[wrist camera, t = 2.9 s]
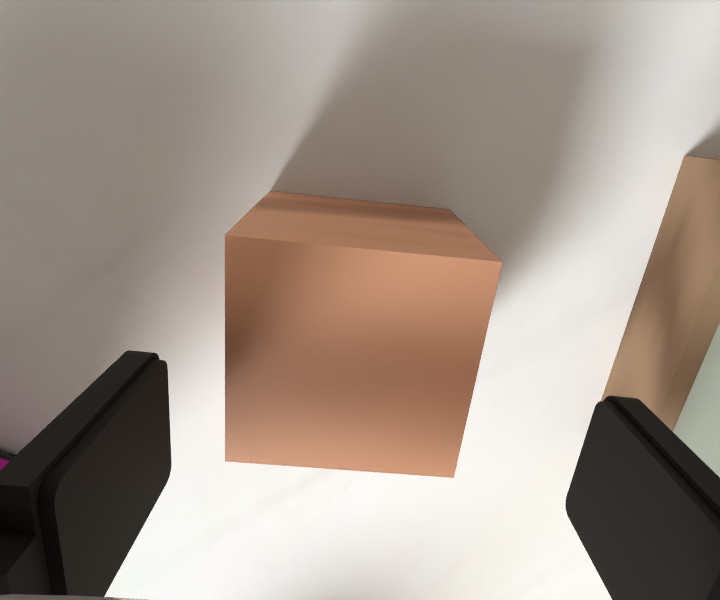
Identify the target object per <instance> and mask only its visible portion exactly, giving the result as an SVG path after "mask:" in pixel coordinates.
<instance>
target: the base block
mask: <svg viewBox="0 0 720 600" xmlns="http://www.w3.org/2000/svg"><path fill="white" fill-rule="evenodd" d="M719 323H720V159H711V158H701V157H692V156H684V158H683V161H682V164H681V167H680V170H679V173H678V176H677V179H676V182H675V185H674V187H673V190H672V193H671V196H670V199H669V202H668V205H667V208H666V211H665V214H664V217H663V220H662V223H661V226H660V229H659V232H658V235H657V237H656V240H655V243H654V246H653V249H652V252H651V255H650V258H649V261H648V264H647V267H646V270H645V273H644V276H643V279H642V282H641V285H640V288H639V290H638V293H637V296H636V299H635V302H634V305H633V308H632V311H631V314H630V317H629V320H628V323H627V326H626V329H625V332H624V335H623V338H622V341H621V343H620V346H619V349H618V352H617V355H616V358H615V361H614V364H613V367H612V370H611V373H610V376H609V379H608V382H607V385H606V388H605V391H604V394H603V396H602V399H601V401H603V400H604V399H605V398H606V397H608V396H620V397H631V398H638V399H639V400H640V401H642V402H643V403H644V404H645V405H646V406H647V407H648V408H649V409H650V410H651V411H652V412H653V413H654V414H655V415H656V416H657V417H658V418H659V419H660V420H661V421H662V422H663V423H664V424H665V425H666V426H667V427H668V428H669V429H670V430H671V431H672V432H673V430H674V428H675V425H676V423H677V421H678V418H679V416H680V414H681V411H682V409H683V407H684V404H685V402H686V400H687V397H688V395H689V393H690V390H691V388H692V386H693V383H694V381H695V379H696V376H697V374H698V372H699V369H700V367H701V365H702V362H703V360H704V358H705V355H706V353H707V351H708V348H709V346H710V344H711V341H712V339H713V337H714V334H715V332H716V330H717V327H718V325H719Z"/></svg>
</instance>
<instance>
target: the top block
mask: <svg viewBox="0 0 720 600" xmlns="http://www.w3.org/2000/svg"><path fill="white" fill-rule="evenodd" d="M673 433H675V434H676V435H677V436H678V437H679V438H680V439H681V440H682V441H683V442H684V443H685V444H686V445H687V446H688V447H689V448H690V449H691V450H692V451H693V452H694V453H695V454H696V455H697V456H698V457H699V458H700V459H701V460H702V461H703V462H704V463H705V464H706V465H707V466H708V467H709V468H711V469H712V470H713V471H714V472H715V473H716V474H717V475H718V476H719V477H720V323H719V325H718V327H717V330H716V332H715V334H714V337H713V339H712V341H711V344H710V346H709V348H708V351H707V353H706V355H705V358H704V360H703V362H702V365H701V367H700V369H699V372H698V374H697V376H696V379H695V381H694V383H693V386H692V388H691V390H690V393H689V395H688V397H687V400H686V402H685V404H684V407H683V409H682V411H681V414H680V416H679V418H678V421H677V423H676V425H675V428H674V430H673Z"/></svg>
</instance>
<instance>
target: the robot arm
mask: <svg viewBox="0 0 720 600" xmlns="http://www.w3.org/2000/svg"><path fill="white" fill-rule="evenodd" d="M170 471H171V444H170V419H169V395H168V370H167V363H166V362H165V361H163V360H159V356H158V355H157V354H156V353H150V352H139V351H127V352H125V353H124V354H123V355H122V356H121V357H120V358H119V359H118V360H117V361H115V362H114V363H113V364H112V365H111V366H110V367H109V368H108V369H107V370H106V371H105V372H104V373H103V374H102V375H101V376H100V377H99V378H97V379H96V380H95V381H94V382H93V383H92V384H91V385H90V386H89V387H88V388H87V389H86V390H85V391H84V392H83V393H82V394H80V395H79V396H78V397H77V398H76V399H75V400H74V401H73V402H72V403H71V404H70V405H69V406H68V407H67V408H66V409H65V410H64V411H62V412H61V413H60V414H59V415H58V416H57V417H56V418H55V419H54V420H53V421H52V422H51V423H50V424H49V425H48V426H47V427H46V428H44V429H43V430H42V431H41V432H40V433H39V434H38V435H37V436H36V437H35V438H34V439H33V440H32V441H31V442H30V443H29V444H28V445H26V446H25V447H24V448H23V449H22V450H21V451H20V452H19V453H18V454H17V455H16V456H15V457H14V458H13V459H12V460H11V461H10V462H8V463H7V464H6V465H5V466H4V467H3V468H2V469H1V470H0V600H147V599H129V598H112V597H104V596H105V594H106V592H107V590H108V589H109V587H110V585H111V583H112V581H113V579H114V578H115V576H116V574H117V572H118V570H119V569H120V567H121V565H122V563H123V561H124V559H125V558H126V556H127V554H128V552H129V550H130V549H131V547H132V545H133V543H134V541H135V540H136V538H137V536H138V534H139V532H140V530H141V529H142V527H143V525H144V523H145V521H146V520H147V518H148V516H149V514H150V512H151V510H152V509H153V507H154V505H155V503H156V501H157V500H158V498H159V496H160V494H161V492H162V491H163V489H164V487H165V485H166V483H167V481H168V479H169V476H170ZM566 511H567V515H568V517H569V519H570V521H571V523H572V525H573V527H574V528H575V530H576V532H577V534H578V536H579V538H580V540H581V542H582V543H583V545H584V547H585V549H586V551H587V553H588V555H589V557H590V558H591V560H592V562H593V564H594V566H595V568H596V570H597V572H598V573H599V575H600V577H601V579H602V581H603V583H604V585H605V587H606V588H607V590H608V592H609V594H610V596H611V598H612V600H720V477H719V476H718V475H717V474H716V473H715V472H714V471H713V470H712V469H711V468H709V467H708V466H707V465H706V464H705V463H704V462H703V461H702V460H701V459H700V458H699V457H698V456H697V455H696V454H695V453H694V452H693V451H692V450H691V449H690V448H689V447H688V446H687V445H686V444H685V443H684V442H683V441H682V440H681V439H680V438H679V437H678V436H677V435H676V434H675V433H673V432H672V431H671V430H670V429H669V428H668V427H667V426H666V425H665V424H664V423H663V422H662V421H661V420H660V419H659V418H658V417H657V416H656V415H655V414H654V413H653V412H652V411H651V410H650V409H649V408H648V407H647V406H646V405H645V404H644V403H643V402H642V401H640V400H639V399H638V398H631V397H620V396H608V397H606V398H605V399H604V400H603V401H600V402H598V403H597V404H596V406H595V409H594V412H593V415H592V418H591V422H590V425H589V428H588V431H587V434H586V437H585V440H584V444H583V447H582V450H581V453H580V456H579V459H578V462H577V466H576V469H575V472H574V475H573V478H572V481H571V484H570V488H569V491H568V494H567V497H566Z"/></svg>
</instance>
